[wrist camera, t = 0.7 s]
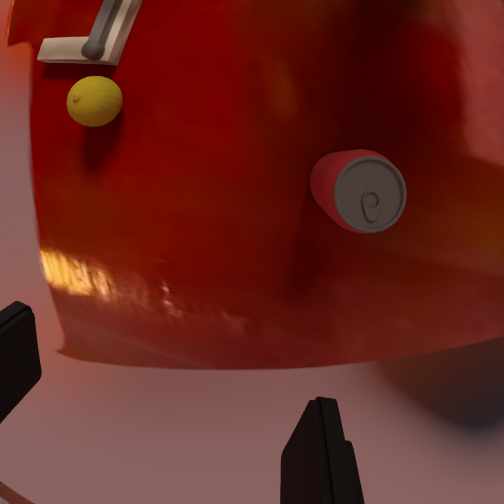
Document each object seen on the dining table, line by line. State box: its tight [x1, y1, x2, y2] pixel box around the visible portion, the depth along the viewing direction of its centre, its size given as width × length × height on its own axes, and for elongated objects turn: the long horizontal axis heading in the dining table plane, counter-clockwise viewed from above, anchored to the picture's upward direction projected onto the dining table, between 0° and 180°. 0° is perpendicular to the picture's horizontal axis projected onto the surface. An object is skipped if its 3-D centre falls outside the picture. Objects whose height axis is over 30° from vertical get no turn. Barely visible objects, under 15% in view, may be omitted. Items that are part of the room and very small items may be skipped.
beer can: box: [310, 149, 407, 234], centre depth 27 cm, size 7×7×12 cm
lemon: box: [67, 76, 122, 127], centre depth 28 cm, size 6×6×8 cm
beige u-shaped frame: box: [37, 0, 143, 66], centre depth 26 cm, size 15×12×4 cm
